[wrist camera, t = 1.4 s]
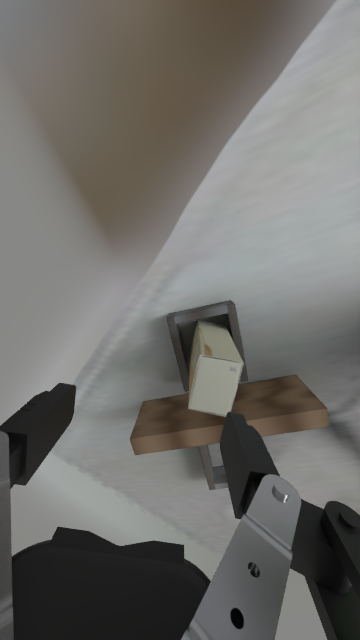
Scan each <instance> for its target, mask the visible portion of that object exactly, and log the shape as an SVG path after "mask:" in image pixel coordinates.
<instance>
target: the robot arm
mask: <svg viewBox="0 0 360 640" xmlns="http://www.w3.org/2000/svg"><path fill="white" fill-rule="evenodd" d="M75 394H76V386H75V385H70V384H64V383H59V384H58V385H56V386H55V387H54V388H53V389H52V390H51V391H50V392H48V391H45V392H42V393H40V394H38V395H36V396H34V397H33V398H32V399H31V400H30V401H29V402H27V404H25V405H24V406H23V407H22V408H21V409H20V410H18V411H17V412H16V413H15V414H14V415H12V416H11V417H10V418H9V419H8V420H7V421H6V422H4V423H3V424H2V425H1V426H0V640H275V635H276V630H277V625H278V621H279V616H280V612H281V607H282V602H283V598H284V593H285V588H286V583H287V579H288V574H289V569H290V568H291V569H293V570H295V571H297V572H298V573H301V574H302V575H304V576H305V579H306V581H307V584H308V587H309V589H310V592H311V595H312V598H313V601H314V603H315V606H316V609H317V612H318V615H319V617H320V620H321V623H322V626H323V628H324V631H325V634H326V637H327V639H328V640H360V515H359V514H357V513H356V512H355V511H354V510H352V509H351V508H350V507H348V506H346V505H344V504H342V503H340V502H337V501H329V502H328V503H327V504H326V506H325V508H324V509H322V508H320V507H317V506H315V505H313V504H311V503H308V502H306V501H304V500H302V499H301V498H300V496H299V494H298V492H297V490H296V489H295V488H294V487H293V486H292V485H291V484H290V483H289V482H288V481H287V480H285V479H283V478H282V477H280V475H279V473H278V471H277V469H276V467H275V465H274V463H273V461H272V459H271V456H270V454H269V452H268V451H267V448H266V446H265V444H264V442H263V440H262V438H261V435H260V434H259V433H258V431H257V430H256V429H255V428H254V427H253V426H250V425H248V424H247V422H246V420H245V417H244V415H243V414H240V413H234V412H228V413H227V415H226V419H225V422H224V426H223V430H222V434H221V438H220V450H221V455H222V459H223V464H224V468H225V473H226V478H227V482H228V487H229V491H230V496H231V501H232V505H233V510H234V514H235V518H237V519H241V520H240V523H239V525H238V527H237V529H236V531H235V533H234V535H233V537H232V539H231V541H230V543H229V545H228V547H227V549H226V551H225V554H224V556H223V558H222V560H221V562H220V564H219V566H218V568H217V570H216V572H215V575H214V576H213V578H212V580H211V581H210V580H209V579H208V578H207V576H206V575H205V574H204V573H203V572H202V571H201V570H200V569H199V568H198V567H197V566H195V565H194V564H192V563H191V562H190V561H188V560H186V559H184V545H180V544H173V543H167V542H160V541H148V542H142V543H136V544H131V545H125V546H118V545H115V544H113V543H111V542H109V541H107V540H105V539H103V538H101V537H99V536H97V535H95V534H94V533H91V532H89V531H84V530H76V529H69V528H63V527H57V529H56V531H55V533H54V535H53V538H52V540H47V541H44V542H40V543H37V544H35V545H32V546H30V547H27V548H26V549H24V550H22V551H20V552H18V553H17V554H15V555H14V556H12V554H11V504H10V489H11V488H12V487H13V485H14V484H18V485H26V484H27V483H28V481H29V480H30V478H31V477H32V475H33V474H34V473H35V472H36V470H37V469H38V467H39V466H40V465H41V463H42V462H43V460H44V459H45V458H46V456H47V455H48V453H49V452H50V451H51V449H52V448H53V446H54V445H55V444H56V442H57V441H58V440H59V438H60V437H61V435H62V434H63V433H64V431H65V430H66V428H67V427H68V426H69V424H70V422H71V420H72V417H73V414H74V405H75Z"/></svg>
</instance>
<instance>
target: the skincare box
mask: <svg viewBox="0 0 360 640" xmlns="http://www.w3.org/2000/svg"><path fill="white" fill-rule="evenodd" d="M243 365H244V363H243V361H242V359H241V357H240V355H239V352H238V350H237V348H236V346H235V344H234V342H233V340H232V338H231V336H230V334H229V332H228V330H227V328H226V326H225V325H221V324H216V323H211V322H206V321H199V320H198V321H197V324H196V328H195V332H194V337H193V341H192V347H191V353H190V370H189V402H188V408H189V409H191V410H196V411H200V412H205V413H210V414H214V415H219V416H224V417H226V415H227V413H228V412H231V409H232V405H233V402H234V398H235V395H236V391H237V387H238V383H239V380H240V376H241V372H242V368H243Z"/></svg>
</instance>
